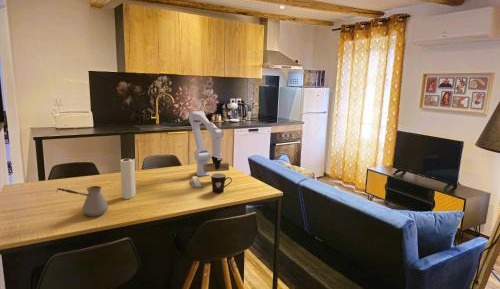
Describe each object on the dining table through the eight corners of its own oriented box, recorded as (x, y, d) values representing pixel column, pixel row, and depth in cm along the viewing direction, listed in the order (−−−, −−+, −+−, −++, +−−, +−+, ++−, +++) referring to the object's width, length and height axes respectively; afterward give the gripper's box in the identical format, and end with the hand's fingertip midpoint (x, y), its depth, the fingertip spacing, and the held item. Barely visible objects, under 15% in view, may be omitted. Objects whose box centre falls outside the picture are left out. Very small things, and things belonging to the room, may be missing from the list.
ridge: (189, 181, 211) (189, 176, 211) (199, 180, 214) (199, 175, 213) (193, 188, 199) (193, 183, 198) (203, 187, 201) (203, 182, 200)
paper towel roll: (121, 199, 177) (119, 161, 172) (122, 195, 182) (120, 158, 178) (135, 198, 179) (134, 160, 174) (136, 194, 184) (134, 158, 180)
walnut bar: (203, 170, 213) (203, 163, 212) (227, 168, 219) (227, 162, 218) (204, 171, 210) (205, 165, 209) (228, 170, 215) (229, 163, 214)
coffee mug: (208, 192, 192) (208, 176, 190) (214, 188, 200) (214, 172, 198) (226, 195, 189) (227, 178, 187) (232, 190, 197) (232, 174, 195)
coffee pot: (106, 207, 166) (105, 178, 163) (110, 215, 157) (108, 185, 154) (58, 214, 156) (55, 184, 153) (58, 224, 146) (55, 192, 143)
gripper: (225, 150, 206) (225, 170, 209) (219, 145, 219) (219, 164, 222) (214, 150, 203) (214, 171, 206) (209, 145, 217) (209, 165, 219)
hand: (216, 168), depth 214 cm, fingers closed on walnut bar, 4 cm apart
